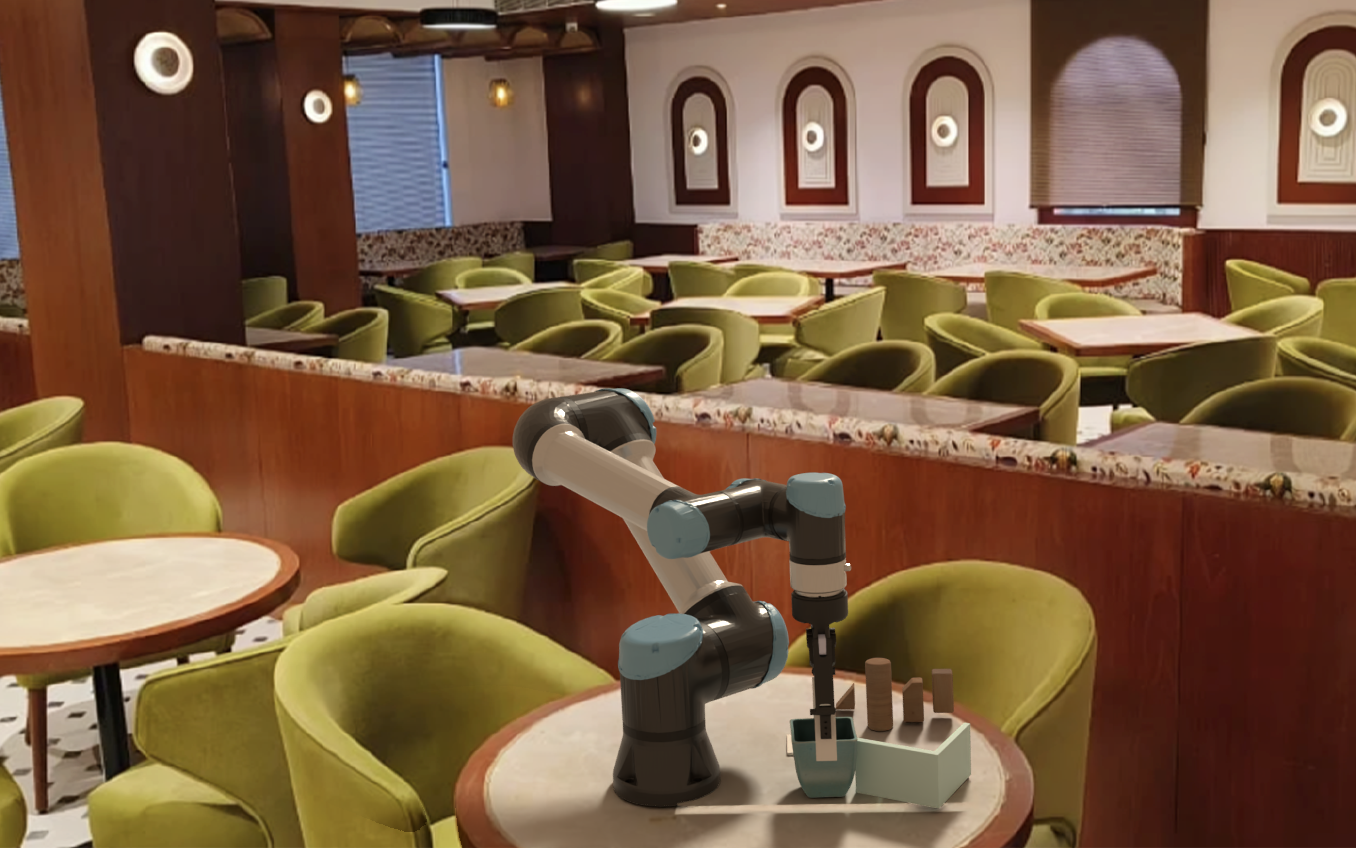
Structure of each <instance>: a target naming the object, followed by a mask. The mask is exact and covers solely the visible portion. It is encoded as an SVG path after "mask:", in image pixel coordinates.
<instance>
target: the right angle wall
mask: <svg viewBox="0 0 1356 848" xmlns="http://www.w3.org/2000/svg"><path fill="white" fill-rule="evenodd" d="M857 739H858V740H857V755H856V768H855V774H854V777H855V779H854V780H855V793H857V794H863V795H868V796H872V797H873V796H874V797H878V798H883V799H889V800H893V801H898V802H903V803H907V804H914V805H917V806H923V807H930V808H935V809H940V808H941V807H942V806H943V805H944V804H945V803H946V802H947V801H948V800H949V799H950V798H951V796H953V795H954V794H955V792H956V791H957V790H958V789H960V787H961V786H962V785H963V784H964V783H965V782H966V780H968V778H970V776H971V775H972V759H971V758H972V753H971V752H972V751H971V748H972V747H971V723H969V722H962V724H961V725H960V726H959V727H958V728H957V729H956V730H955V731H954V732H953V733H952V734H950V736H949V737H947V739H945V740H944V741H943V742H942V743H941V744H940V745H939V746H938V747H937V748H936V749H935V750H930V749H925V748H919V747H914V746H907V745H902V744H896V743H890V742H885V741H878V740H872V739H867V738H861V737H857Z"/></svg>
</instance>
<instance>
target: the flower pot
mask: <svg viewBox="0 0 1356 848" xmlns="http://www.w3.org/2000/svg"><path fill="white" fill-rule="evenodd" d="M835 718H836V745H837V761H816V739H815V718H814V717H813V718H810V717H809V718H808V717H807V718H806V717H805V718H792V719H790V720H789V726H790V727H789V728H790V734H791V741H792V748H793V755H792V756H793V759H794V760H793V761H794V766H795V767H794V768H795V773H796V777H797V780H798V783H799V785H800V788H801V789H802V790H803V793H805V794H806V797H808V798H809V799H810V798H812V799H813V798H814V799H815V798H817V799H818V798H834V797H835V798H836V797H837V798H838V797H839V798H840V797H845V796H846V795H847V793H848V791H850V788H851V786H852V784H853V781H854V777H855V768H856V755H857V740H858V739H857V738H858V735H857V732H856V727H855V721H854V717H852V716H835Z"/></svg>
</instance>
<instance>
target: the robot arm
mask: <svg viewBox="0 0 1356 848" xmlns="http://www.w3.org/2000/svg"><path fill="white" fill-rule="evenodd" d="M654 423H655V417H654V414H653V412H652V410H651V408H650V406H649V405H648V404H647V402H646V400H644V398H642V397H641V396H640V395H639V394H638V393H636V392H635V391H632V390H630V389H627V388H622V387H621V388H618V387H617V388H609V387H608V388H600V389H597V390H595V391H591V392H585V393H577V394H570V395H563V396H557V397H550V398H544V399H542V400H539V401H537V402H535V403H533V404H532V405H530V406H528V408H526V409H525V410H524V411H523V413H522V414H521V415H520V416H519V417H518V420H517V421H516V424H515V426H514V429H513V434H512V448H513V453H514V456H515V458H516V460H517V463H518V464H519V465H520V467H521V468H522V469H523V471H525V472H526V473H527V474H528V475H529V476H531V477H532V478H534V479H536V480H537V481H539V482H541V483H543V484H545V485H548V486H551V487H554V486H555V487H559V486H563V487H565V488H566V489H568V490H571V492H574V493H576V494H578V495H579V496H581V497H583V498H585V499H587V500H588V501H591V502H593V503H594V504H596V505H598V506H600V507H601V508H603V509H605V510H607V511H609V512H611V513H613V514H615V515H616V516H619V517H620V518H622V520H623V521H624V523H625V524H626V526H627V527H628V530H629V531H630V533H631V534H632V536H633V538H634V539H635V541H636V542H637V544H638V546H639V548H640V549H641V551H642V553H643V554H644V556H645V557H646V560H647V562H648V564H650V566H651V568H652V569H653V571H654V573H655V574H656V576H657V578H658V580H659V582H660V583H661V585H662V586H663V588H664V590H665V591H666V593H667V594H668V597H669V598H670V600H671V601H672V603H673V604H674V607H675V608H676V610H677V612H678V613H667V614H665V615H660V614H658V615H652V616H649V617H646V618H643V619H640V620H638V621H636V622H635V623H633V624H631V625H630V626H628V628H626V629H625V631H624V632H623V633H622V634H621V636H620V640H619V644H618V647H619V649H618V651H619V652H618V661H617V667H618V671H619V680H620V698H621V716H622V717H621V718H622V737H621V741H620V745H619V748H618V752H617V756H616V759H615V763H614V766H613V771H612V782H613V783H612V785H613V787H612V788H613V790H614V793H616V795H617V796H618V797H619V798H620V799H623V800H625V801H627V802H630V803H632V804H637V805H641V806H648V807H676V806H678V804H682V803H686V802H691V801H695V800H698V799H701V798H704V797H706V796H708V795H710V794H711V793H713V792H714V791H715V790H716V789H717V788H718V786H720V784H721V768H720V764H719V761H718V758H717V755H716V753H715V750H714V747H713V745H712V742H711V740H710V737H709V735H708V732H707V726H706V704H708V703H710V702H711V703H712V702H713V701H717V700H719V699H723V698H726V697H728V696H732V695H736V694H738V693H741V692H744V691H747V690H750V689H756V688H759V687H761V686H762V685H764V684H765V683H768V682H770V681H773V680H774V679H776V678H777V677H778V676H780V674H781V673H782V672H783V670H784V668H785V667H786V664H787V661H788V656H789V645H790V640H789V633H788V628H787V626H786V622H785V619H784V618H783V616H782V614H781V613H780V611H779V610H778V609H777V608H776V607H775V606H774V605H773V604H771V603H770V602H769V603H767V602H766V601H762V600H757V601H753V599H752V598H751V597H750V595H749V593H748V591H747V590H746V589H745V587H744V586H743V585H742V584H741V583H736V582H731V581H728V579H727V578H726V576H725V575H724V573H723V571H722V569H721V568H720V566H719V565H718V563H717V561H716V560H715V558H714V556H713V555H712V554H711V552H712V551H715V550H717V549H718V550H719V549H722V548H726V547H730V546H734V545H738V544H741V543H746V542H750V541H754V540H759V539H762V538H770V539H775V540H780V541H785V542H788V547H789V561H788V562H789V578H790V579H789V581H790V582H789V584H790V588H791V589H792V592H791V594H790V599H791V614H792V615H791V616H792V618H793V619H794V620H795V621H797V622H799V623H802V624H809V625H810V628H805V635H806V640H805V641H806V647H807V649H808V657H809V660H808V661H809V665H810V667H812V668H811V674H812V677H811V678H812V679H811V683H812V685H811V686H812V708H809V716H813V718H815V739H816V761H837V745H836V718H835V717H836V712H837V710H836V703H835V688H834V687H835V685H834V676H836V674H837V673H836V667H835V665H836V647H837V633H836V628H835V627H830V625H832V624H833V623H839V622H840V623H841V622H842V621H844V620H846V619H847V617H848V615H849V602H848V601H849V598H848V596H849V594H848V593H849V592H848V591H847V590H846V589H845V588H846V587H847V585H848V584H847V582H848V581H847V572H850V571H851V570H852V566H851V564H850V563H847V560H846V559H847V551H846V547H847V546H846V511H847V510H846V508H847V506H846V503H845V495H844V494H845V493H844V487H843V486H844V485H843V482H842V479H841V478H840V477H839V476H837V475H836V474H832V473H828V472H805V473H804V472H803V473H799V474H797V473H796V474H795V475H792V476H790V477H789V478H788V480H787V482H786V484H783V483H777V482H772V481H768V480H766V479H761V478H755V477H754V478H745V477H744V478H738V479H735V480H733V482H731V484H729V486H728V487H726V488H725V489H723V490H719V491H718V490H717V491H713V492H708V493H705V494H704V493H703V494H697V493H694V492H692V491H689V490H687V489H685V488H684V487H681V486H679V485H677V484H675V483H674V482H671V481H670V480H667V479H665V477H664V476H663V475H662V473H661V472H660V469H658V467H657V465H656V464H655V462H654V458H655V454H656V452H657V451H656V445H655V444H656V440H657V427H656V426H654Z"/></svg>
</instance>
